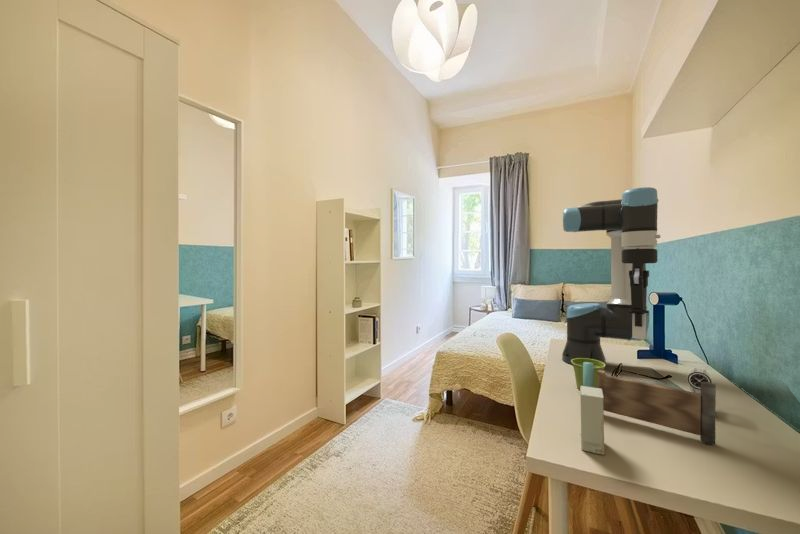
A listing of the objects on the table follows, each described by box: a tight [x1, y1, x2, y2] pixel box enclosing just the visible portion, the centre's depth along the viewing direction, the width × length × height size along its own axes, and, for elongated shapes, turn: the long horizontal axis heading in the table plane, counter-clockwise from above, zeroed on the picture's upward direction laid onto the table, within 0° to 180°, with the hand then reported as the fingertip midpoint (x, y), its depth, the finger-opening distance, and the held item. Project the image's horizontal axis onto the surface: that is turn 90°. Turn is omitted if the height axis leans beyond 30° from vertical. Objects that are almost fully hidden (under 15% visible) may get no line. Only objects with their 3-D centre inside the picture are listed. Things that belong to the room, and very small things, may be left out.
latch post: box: [583, 362, 593, 387], centre depth 87 cm, size 2×2×13 cm
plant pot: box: [571, 358, 606, 390], centre depth 102 cm, size 9×9×9 cm
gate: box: [597, 370, 717, 446], centre depth 78 cm, size 22×2×13 cm, turn 48°
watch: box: [686, 367, 715, 394], centre depth 87 cm, size 6×8×11 cm
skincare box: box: [579, 386, 605, 456], centre depth 71 cm, size 6×4×12 cm
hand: (638, 338), depth 84 cm, fingers closed
